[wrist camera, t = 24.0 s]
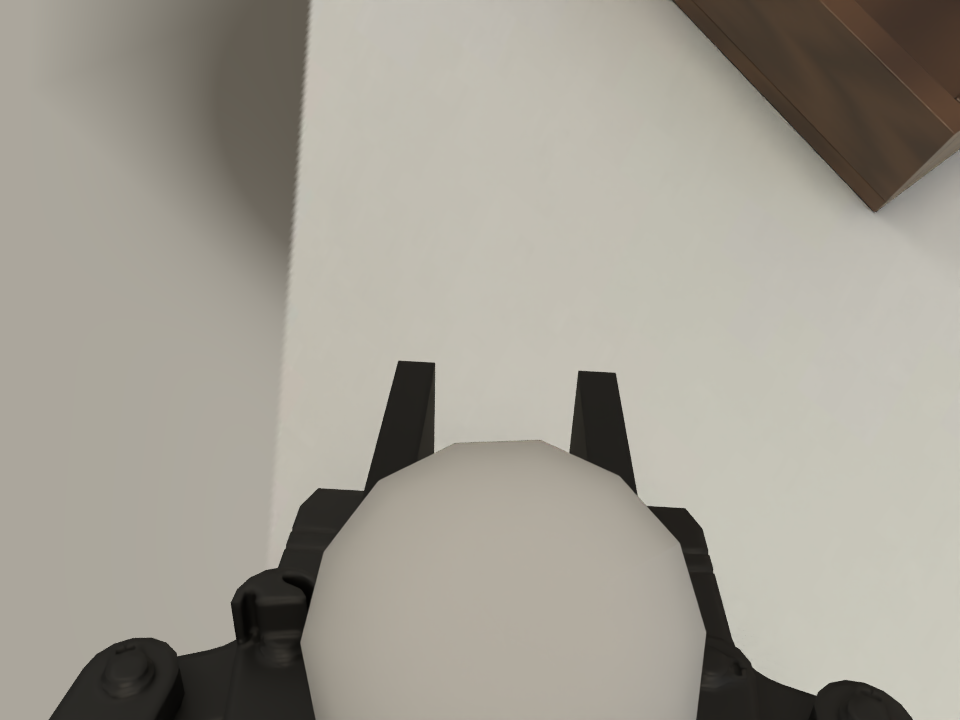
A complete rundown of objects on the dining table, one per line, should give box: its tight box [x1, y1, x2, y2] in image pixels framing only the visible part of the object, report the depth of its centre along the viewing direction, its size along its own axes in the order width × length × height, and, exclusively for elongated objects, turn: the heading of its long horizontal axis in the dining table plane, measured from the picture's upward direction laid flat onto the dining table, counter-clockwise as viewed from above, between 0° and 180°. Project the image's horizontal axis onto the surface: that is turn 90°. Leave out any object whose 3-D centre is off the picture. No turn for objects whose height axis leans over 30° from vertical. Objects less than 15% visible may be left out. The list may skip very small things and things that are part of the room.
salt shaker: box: [300, 440, 706, 720], centre depth 14 cm, size 6×6×13 cm
